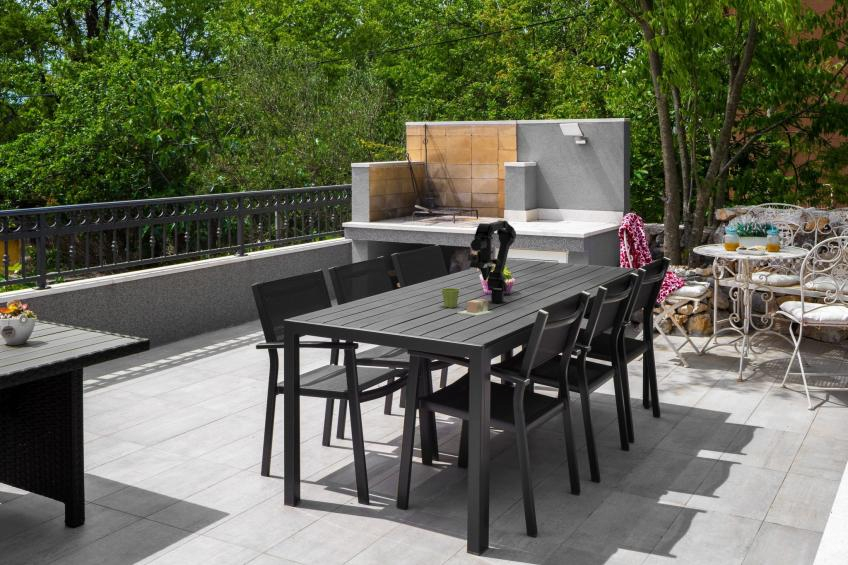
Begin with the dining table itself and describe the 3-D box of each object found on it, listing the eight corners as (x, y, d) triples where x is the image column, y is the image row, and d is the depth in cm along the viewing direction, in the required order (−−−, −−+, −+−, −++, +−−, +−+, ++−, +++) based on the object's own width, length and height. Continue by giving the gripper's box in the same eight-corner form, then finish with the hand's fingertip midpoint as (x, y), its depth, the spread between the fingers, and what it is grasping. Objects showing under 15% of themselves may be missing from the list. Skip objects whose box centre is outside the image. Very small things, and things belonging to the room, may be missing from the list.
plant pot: (444, 308, 460) (444, 291, 459) (438, 305, 469) (438, 288, 468) (462, 308, 463) (462, 290, 461) (456, 304, 472) (456, 287, 470)
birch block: (479, 298, 456) (466, 301, 448) (487, 299, 453) (475, 302, 445) (479, 309, 457) (466, 311, 449) (487, 310, 453) (475, 313, 446)
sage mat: (471, 309, 458) (471, 308, 458) (492, 312, 450) (492, 311, 450) (456, 313, 449) (456, 312, 449) (477, 315, 441) (477, 314, 441)
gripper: (482, 246, 474) (482, 277, 477) (460, 249, 460) (460, 281, 462) (501, 247, 467) (500, 279, 470) (479, 251, 453) (479, 283, 455)
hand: (485, 280), depth 464 cm, fingers closed
